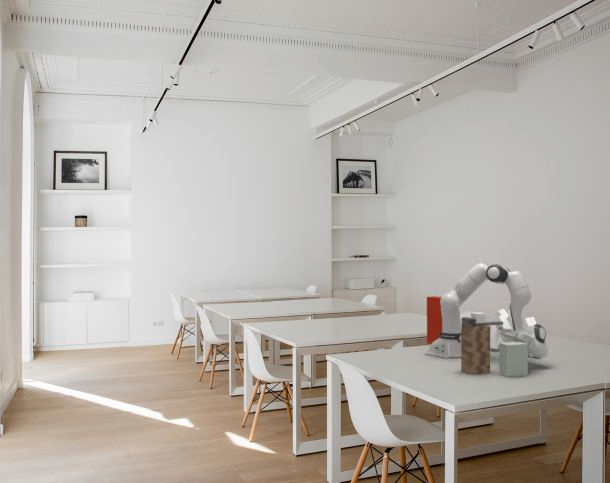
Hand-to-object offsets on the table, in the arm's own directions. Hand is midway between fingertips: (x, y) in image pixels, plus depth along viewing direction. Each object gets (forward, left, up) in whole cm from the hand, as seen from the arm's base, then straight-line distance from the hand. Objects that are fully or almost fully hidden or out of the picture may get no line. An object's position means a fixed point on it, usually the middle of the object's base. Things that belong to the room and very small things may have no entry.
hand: (504, 328), depth 318 cm
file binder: (-58, +50, -23) cm, 80 cm away
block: (+8, -8, -23) cm, 25 cm away
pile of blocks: (-9, +52, -23) cm, 58 cm away
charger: (-6, -8, +2) cm, 11 cm away
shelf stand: (-11, -14, -23) cm, 29 cm away
